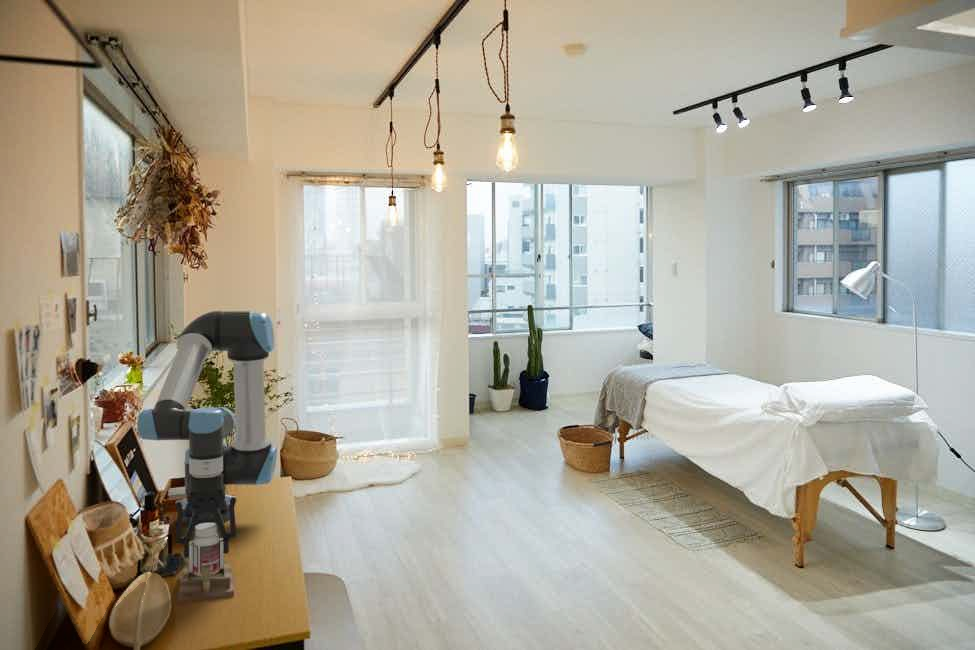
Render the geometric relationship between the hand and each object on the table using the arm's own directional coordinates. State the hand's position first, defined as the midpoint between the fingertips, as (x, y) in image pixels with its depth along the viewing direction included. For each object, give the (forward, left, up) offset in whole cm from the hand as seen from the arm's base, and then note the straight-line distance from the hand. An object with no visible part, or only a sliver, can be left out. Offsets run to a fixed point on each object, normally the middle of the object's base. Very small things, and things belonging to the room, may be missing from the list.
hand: (206, 568), depth 175 cm
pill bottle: (0, 0, -1) cm, 1 cm away
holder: (0, 0, -5) cm, 5 cm away
